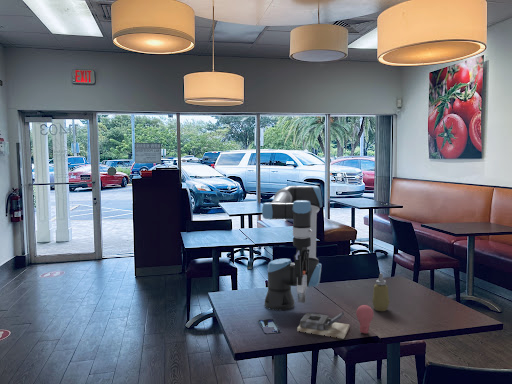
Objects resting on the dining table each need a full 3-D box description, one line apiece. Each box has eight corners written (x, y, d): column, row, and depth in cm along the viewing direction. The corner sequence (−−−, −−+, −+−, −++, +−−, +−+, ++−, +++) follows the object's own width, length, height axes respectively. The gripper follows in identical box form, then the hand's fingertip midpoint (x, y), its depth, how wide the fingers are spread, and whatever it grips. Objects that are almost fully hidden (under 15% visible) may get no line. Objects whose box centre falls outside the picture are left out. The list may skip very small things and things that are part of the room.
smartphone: (264, 333, 174) (257, 319, 189) (264, 335, 174) (257, 321, 189) (281, 332, 176) (273, 318, 190) (281, 334, 176) (273, 320, 190)
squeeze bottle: (390, 313, 197) (390, 276, 196) (372, 311, 199) (373, 275, 197) (388, 307, 205) (388, 271, 204) (371, 306, 207) (371, 270, 205)
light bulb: (370, 329, 178) (370, 302, 177) (375, 336, 171) (376, 308, 170) (354, 329, 178) (354, 302, 177) (358, 336, 171) (359, 308, 170)
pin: (296, 302, 177) (296, 271, 175) (299, 299, 179) (299, 269, 178) (304, 303, 175) (303, 272, 174) (306, 300, 178) (306, 270, 177)
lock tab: (326, 328, 175) (324, 325, 176) (329, 324, 180) (327, 321, 180) (342, 318, 172) (340, 315, 173) (344, 313, 177) (342, 311, 177)
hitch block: (297, 331, 177) (297, 321, 177) (305, 321, 188) (305, 311, 188) (343, 338, 169) (344, 328, 169) (349, 327, 180) (349, 317, 180)
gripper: (303, 241, 166) (303, 297, 168) (316, 234, 181) (316, 286, 182) (286, 239, 169) (286, 295, 171) (300, 233, 184) (300, 284, 186)
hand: (301, 290), depth 177 cm, fingers closed on pin, 3 cm apart
